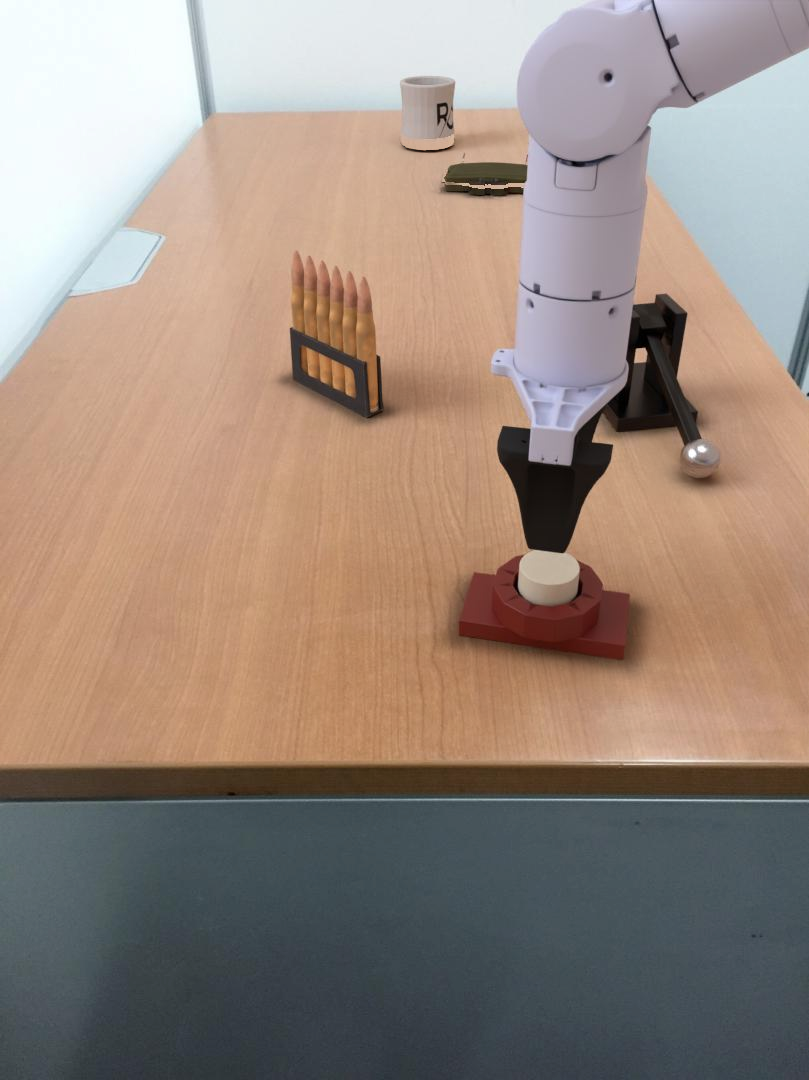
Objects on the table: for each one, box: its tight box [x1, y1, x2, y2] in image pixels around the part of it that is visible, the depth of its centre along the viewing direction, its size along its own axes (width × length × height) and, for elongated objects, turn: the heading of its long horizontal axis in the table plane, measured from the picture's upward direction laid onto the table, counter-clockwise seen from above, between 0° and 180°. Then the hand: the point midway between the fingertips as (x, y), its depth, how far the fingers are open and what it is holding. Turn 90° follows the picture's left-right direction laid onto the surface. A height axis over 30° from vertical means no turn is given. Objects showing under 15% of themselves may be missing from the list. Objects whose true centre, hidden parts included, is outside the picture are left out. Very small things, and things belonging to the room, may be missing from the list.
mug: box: [399, 75, 456, 139], centre depth 157 cm, size 12×9×10 cm
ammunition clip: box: [289, 250, 384, 419], centre depth 82 cm, size 11×2×12 cm, turn 43°
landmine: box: [440, 152, 528, 197], centre depth 140 cm, size 14×3×15 cm
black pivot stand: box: [602, 293, 699, 433], centre depth 81 cm, size 10×7×9 cm
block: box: [458, 553, 631, 661], centre depth 59 cm, size 10×6×3 cm, turn 76°
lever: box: [633, 302, 722, 479], centre depth 76 cm, size 17×3×3 cm, turn 10°
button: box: [518, 550, 580, 607], centre depth 58 cm, size 4×4×2 cm
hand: (555, 509), depth 55 cm, fingers open, 7 cm apart
